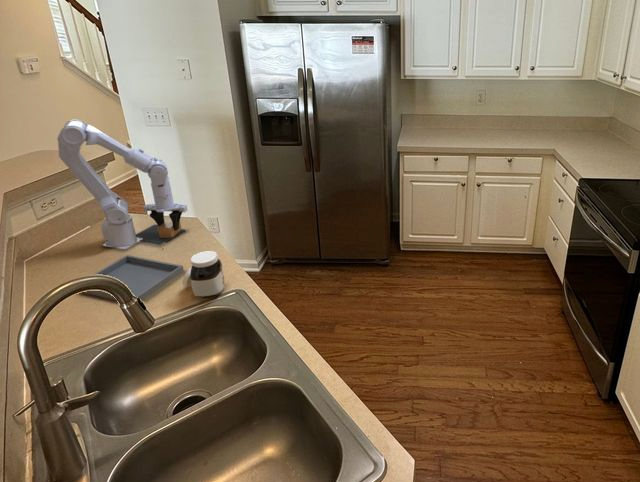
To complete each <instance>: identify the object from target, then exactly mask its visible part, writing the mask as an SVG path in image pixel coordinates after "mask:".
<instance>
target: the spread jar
mask: <svg viewBox="0 0 640 482" xmlns="http://www.w3.org/2000/svg"><path fill="white" fill-rule="evenodd" d="M190 263H191V267H190V268H189V269H188V270H187V271H186V273H185V274H184V276H183V278H182V284H183V286H184V287H185V288H188V289H190V288H191V290H192V293H193V295H194V297H196V298H199V299H204V300H205V299H206V300H208V299H212V298H216V297H218V296H219V295H221V294H222V293H223V291H224V289H225V274H224V269H223V264H222V261H221V259H219V258H218V252H216V251H213V250H204V251H199V252H197V253H195V254H194V255H193V256H191V257H190Z"/></svg>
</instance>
